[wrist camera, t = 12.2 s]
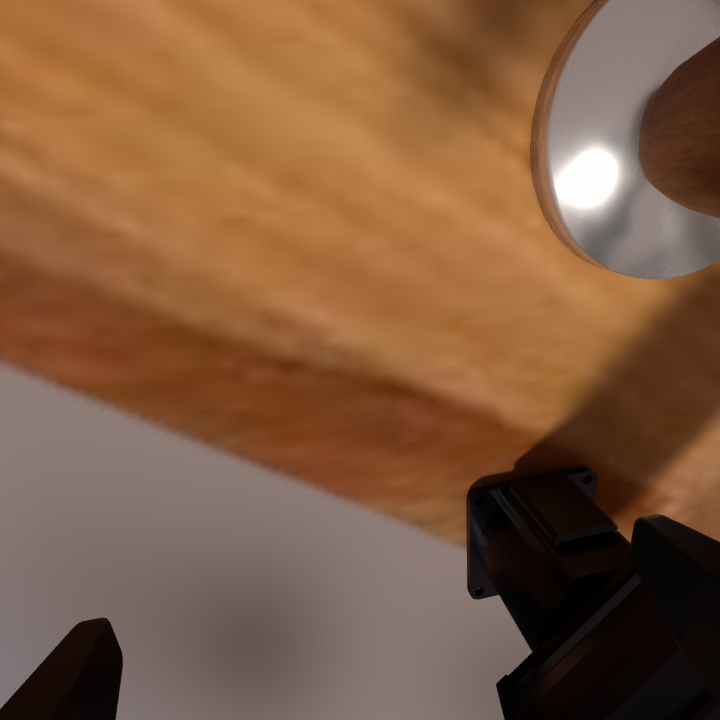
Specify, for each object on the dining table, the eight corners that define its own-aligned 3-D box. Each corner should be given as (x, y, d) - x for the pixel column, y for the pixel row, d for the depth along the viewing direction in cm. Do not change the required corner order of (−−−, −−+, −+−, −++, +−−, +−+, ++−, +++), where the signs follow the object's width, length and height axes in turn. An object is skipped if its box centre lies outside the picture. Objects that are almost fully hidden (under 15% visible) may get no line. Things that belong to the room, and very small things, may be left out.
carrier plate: (754, 256, 23) (786, 262, 22) (525, 287, 21) (544, 296, 20) (813, -43, 19) (856, -59, 18) (536, -33, 17) (560, -50, 16)
